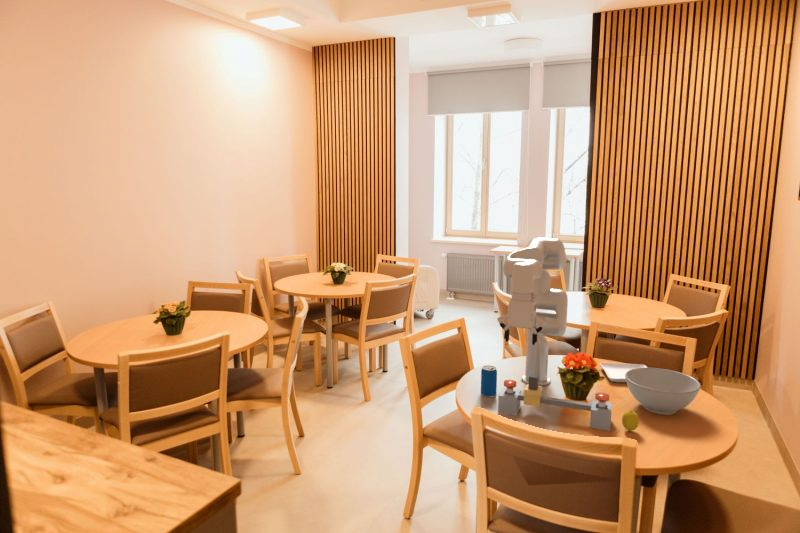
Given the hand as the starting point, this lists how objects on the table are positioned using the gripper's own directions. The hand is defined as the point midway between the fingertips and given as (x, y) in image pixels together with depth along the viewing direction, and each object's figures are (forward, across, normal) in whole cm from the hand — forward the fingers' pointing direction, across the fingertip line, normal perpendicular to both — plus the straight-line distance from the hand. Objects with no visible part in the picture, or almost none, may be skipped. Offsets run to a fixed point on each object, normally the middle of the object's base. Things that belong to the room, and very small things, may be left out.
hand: (520, 342), depth 199 cm
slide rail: (+31, -12, -10) cm, 35 cm away
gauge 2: (+27, -29, -10) cm, 41 cm away
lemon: (+31, -39, -8) cm, 51 cm away
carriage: (+27, -4, -10) cm, 29 cm away
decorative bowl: (+31, -50, -34) cm, 68 cm away
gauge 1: (+27, +5, -10) cm, 29 cm away
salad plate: (+32, -38, -66) cm, 82 cm away
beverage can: (+31, +16, -21) cm, 41 cm away
